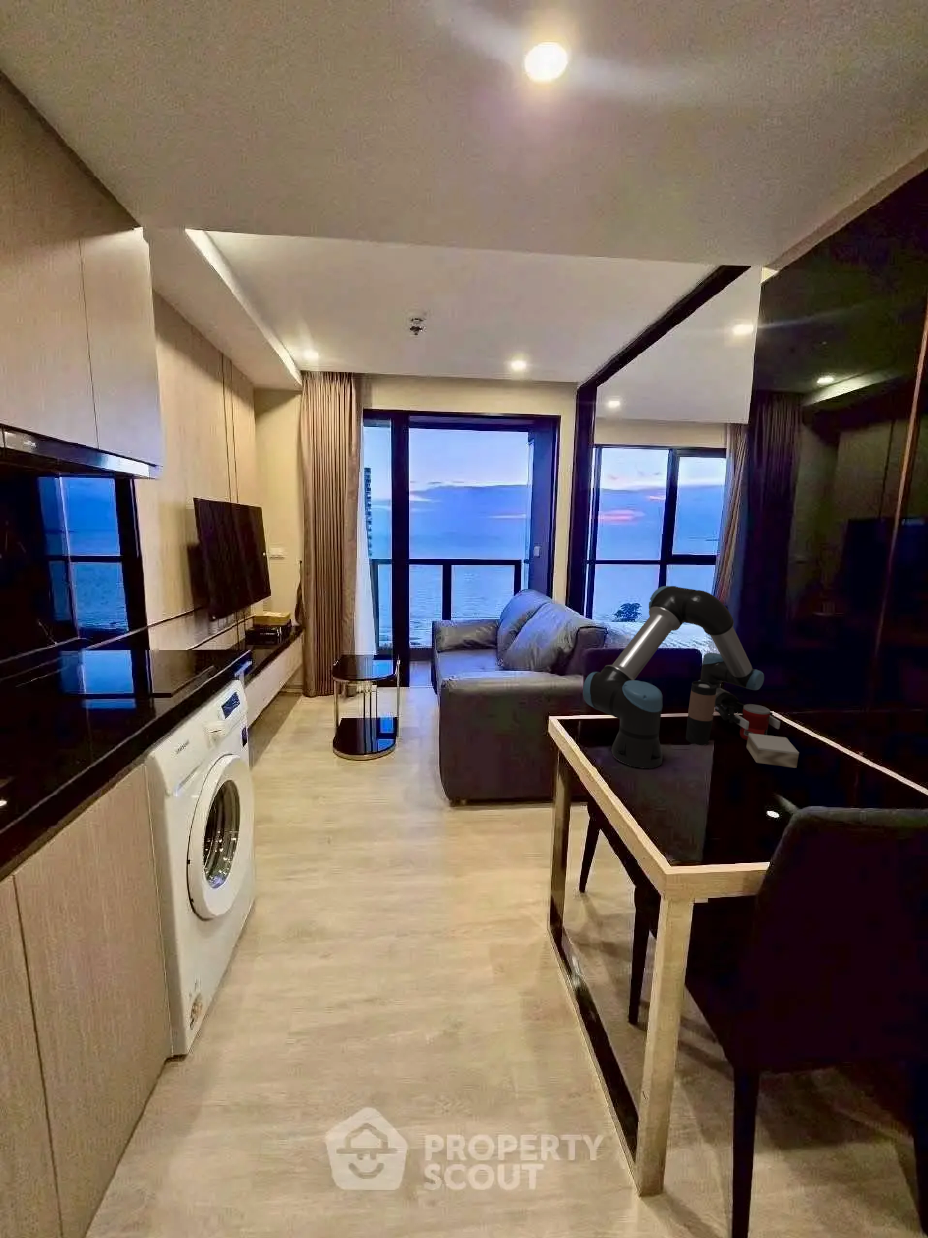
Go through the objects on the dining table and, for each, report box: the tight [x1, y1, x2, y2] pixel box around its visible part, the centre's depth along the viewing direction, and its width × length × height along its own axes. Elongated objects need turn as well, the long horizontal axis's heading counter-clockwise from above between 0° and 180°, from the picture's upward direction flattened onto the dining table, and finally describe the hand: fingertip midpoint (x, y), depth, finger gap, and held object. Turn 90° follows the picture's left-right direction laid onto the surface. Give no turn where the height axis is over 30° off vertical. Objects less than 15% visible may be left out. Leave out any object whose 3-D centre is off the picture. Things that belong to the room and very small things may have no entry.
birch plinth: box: [746, 733, 800, 769], centre depth 159 cm, size 11×11×5 cm
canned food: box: [739, 703, 771, 741], centre depth 172 cm, size 8×8×11 cm
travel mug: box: [685, 680, 717, 746], centre depth 168 cm, size 8×8×20 cm
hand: (763, 725), depth 167 cm, fingers open, 10 cm apart
